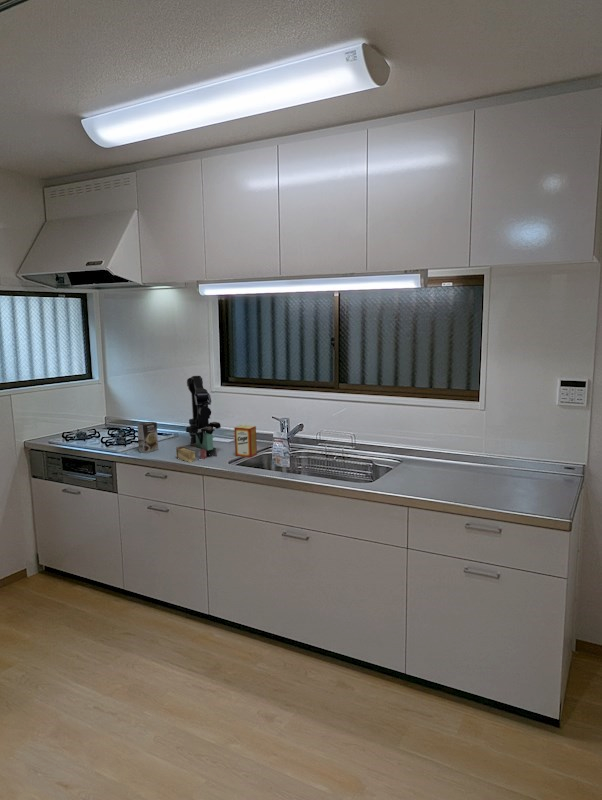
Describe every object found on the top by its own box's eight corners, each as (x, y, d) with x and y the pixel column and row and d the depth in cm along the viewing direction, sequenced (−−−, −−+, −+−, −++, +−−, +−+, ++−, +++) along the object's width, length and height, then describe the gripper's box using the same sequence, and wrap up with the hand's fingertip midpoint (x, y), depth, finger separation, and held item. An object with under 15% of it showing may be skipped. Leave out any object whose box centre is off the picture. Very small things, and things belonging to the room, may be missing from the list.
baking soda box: (256, 454, 303) (255, 425, 300) (251, 457, 297) (249, 428, 294) (241, 453, 306) (240, 424, 304) (235, 456, 300) (234, 426, 298)
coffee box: (145, 453, 311) (143, 425, 309) (138, 451, 315) (136, 423, 313) (159, 449, 318) (157, 422, 316) (151, 448, 322) (149, 421, 320)
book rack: (203, 452, 310) (203, 441, 309) (216, 456, 301) (216, 445, 300) (176, 458, 299) (176, 447, 298) (189, 462, 290) (188, 451, 289)
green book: (201, 445, 307) (201, 431, 306) (213, 449, 299) (212, 434, 298) (196, 447, 305) (195, 432, 303) (207, 450, 297) (206, 435, 295)
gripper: (208, 410, 311) (210, 437, 314) (179, 415, 298) (181, 443, 301) (220, 412, 303) (221, 440, 306) (191, 418, 290) (192, 447, 293)
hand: (204, 443), depth 301 cm, fingers closed on green book, 3 cm apart
